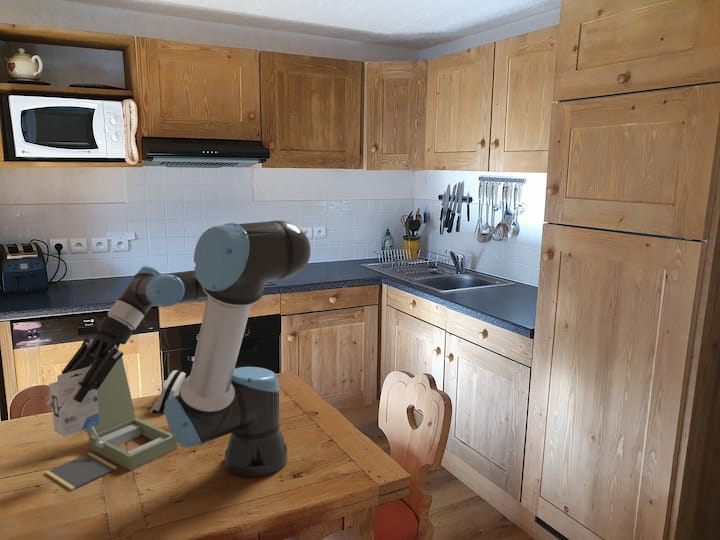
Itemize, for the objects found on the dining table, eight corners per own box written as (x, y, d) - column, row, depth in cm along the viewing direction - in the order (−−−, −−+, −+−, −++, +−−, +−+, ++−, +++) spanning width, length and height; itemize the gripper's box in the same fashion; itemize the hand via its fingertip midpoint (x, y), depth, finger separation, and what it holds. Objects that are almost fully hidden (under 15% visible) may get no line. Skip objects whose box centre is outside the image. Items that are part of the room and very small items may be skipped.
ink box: (90, 418, 134) (85, 360, 131) (100, 424, 131) (95, 365, 128) (53, 431, 127) (46, 370, 125) (63, 437, 124) (56, 376, 122)
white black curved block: (164, 391, 178) (173, 362, 176) (179, 395, 178) (188, 367, 177) (149, 413, 161) (159, 383, 160) (165, 418, 162) (175, 387, 161)
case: (177, 448, 142) (172, 370, 138) (127, 472, 130) (120, 388, 127) (125, 424, 155) (119, 352, 151) (76, 444, 144) (68, 367, 140)
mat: (117, 469, 132) (117, 467, 132) (71, 490, 123) (71, 488, 123) (90, 454, 139) (90, 452, 138) (45, 473, 130) (44, 471, 130)
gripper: (152, 338, 133) (92, 427, 123) (110, 325, 143) (51, 406, 133) (131, 321, 127) (66, 413, 117) (88, 309, 138) (25, 393, 128)
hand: (58, 409), depth 125 cm, fingers closed on ink box, 5 cm apart
